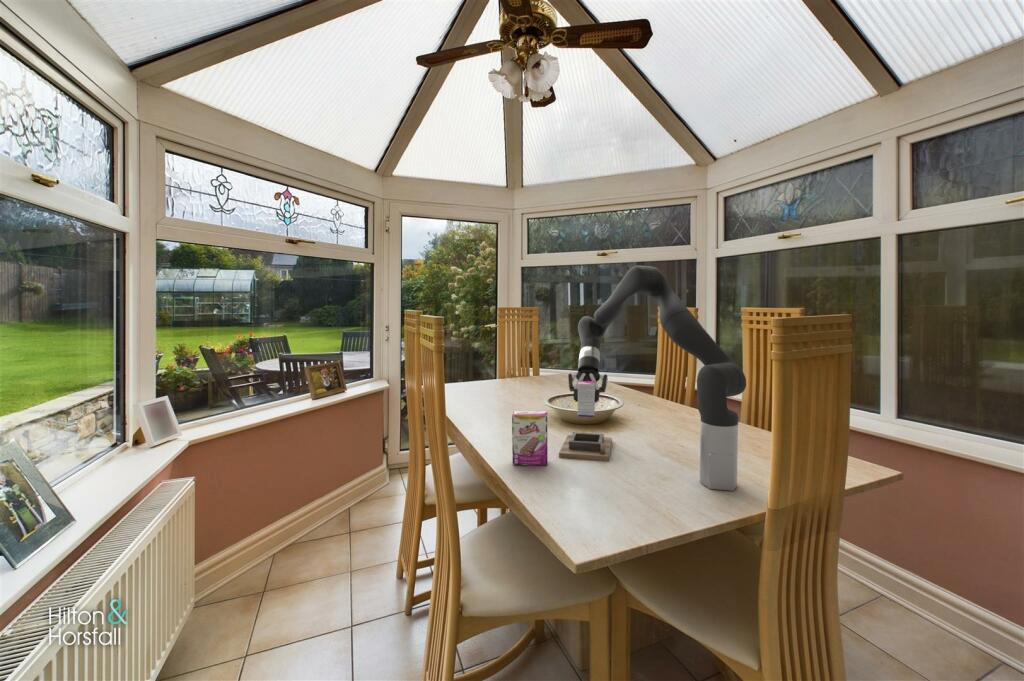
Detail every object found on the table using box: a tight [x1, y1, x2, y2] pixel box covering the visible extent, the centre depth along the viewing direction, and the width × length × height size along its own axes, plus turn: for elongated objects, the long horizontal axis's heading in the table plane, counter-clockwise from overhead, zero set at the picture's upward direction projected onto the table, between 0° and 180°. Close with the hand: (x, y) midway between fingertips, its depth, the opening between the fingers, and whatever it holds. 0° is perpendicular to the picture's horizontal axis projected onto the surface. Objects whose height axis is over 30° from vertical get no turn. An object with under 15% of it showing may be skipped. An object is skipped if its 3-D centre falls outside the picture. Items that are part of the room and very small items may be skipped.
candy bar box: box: [511, 410, 549, 466], centre depth 136 cm, size 11×5×16 cm, turn 84°
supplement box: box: [577, 381, 596, 418], centre depth 147 cm, size 6×6×12 cm
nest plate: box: [558, 432, 613, 462], centre depth 148 cm, size 20×16×4 cm
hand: (585, 400), depth 146 cm, fingers closed on supplement box, 6 cm apart
